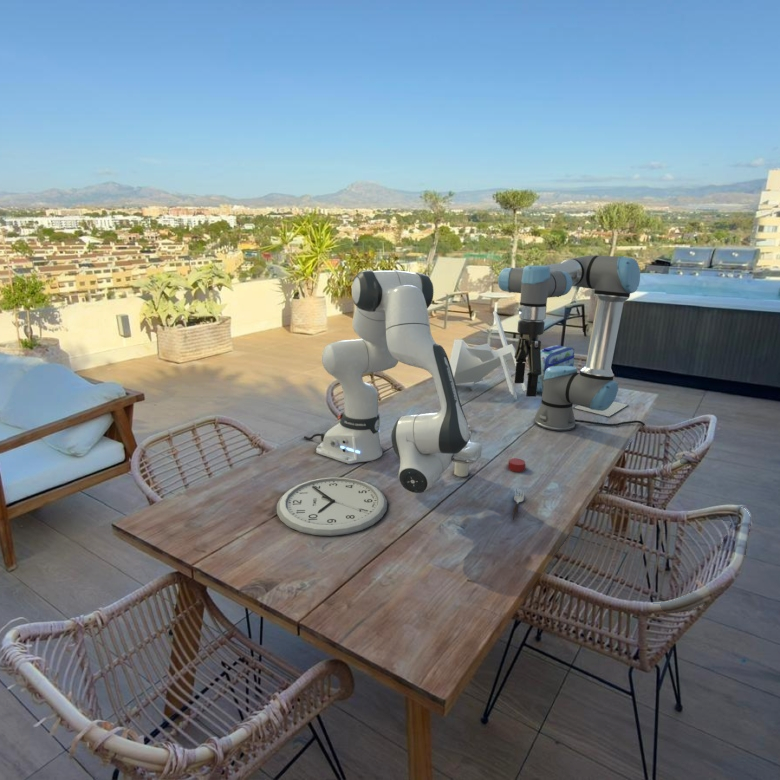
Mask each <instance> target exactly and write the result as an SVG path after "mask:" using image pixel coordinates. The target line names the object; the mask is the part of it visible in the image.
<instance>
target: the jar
mask: <svg viewBox="0 0 780 780" xmlns="http://www.w3.org/2000/svg"><path fill="white" fill-rule="evenodd" d="M468 427H469V433H470V441H471V439H472V432H471V431H470V429H471V425H470V424H468ZM471 442H472V441H471ZM469 466H470V464H463V463H458V462H454V467H453V475H455V476H456V477H459V478H463V477H464V478H465V477H467V476H468V475H469V470H470V469H469V468H470V467H469Z"/></svg>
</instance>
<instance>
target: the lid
mask: <svg viewBox="0 0 780 780" xmlns="http://www.w3.org/2000/svg"><path fill="white" fill-rule="evenodd" d="M507 468H508V470H510V471H511V472H514V473H522V472H524V471H525V469H526V461H525V460H524V459H521V458H516V457H514V458H510V459H508V465H507Z"/></svg>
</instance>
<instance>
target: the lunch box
mask: <svg viewBox="0 0 780 780" xmlns="http://www.w3.org/2000/svg"><path fill="white" fill-rule="evenodd" d="M540 351H541V372H542V373H541V375H539V376H538V383H537V392H536V393H540V394H542V391H543V381H544V380H543V378H544V374H545V371H546V369H547V368H550V367H554V366H572V367H574V363H575V348H573V347H571V346H570V347H568V346H563V345H551V346H548V347H544V348H543V349H540ZM535 371H536V370H535Z"/></svg>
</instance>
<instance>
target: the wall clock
mask: <svg viewBox="0 0 780 780" xmlns="http://www.w3.org/2000/svg"><path fill="white" fill-rule="evenodd" d="M387 509H388V500H387V498H386V496H385V494H384V493H383V492H382V491H381V490H380V489H379V488H377V487H376V486H374V485H372V484H371V483H369V482H365V481H362V480H359V479H355V478H349V477H338V476H337V477H335V476H333V477H332V476H331V477H322V478H317V479H312V480H307V481H305V482H302V483H299V484H297V485H295V486H293V487H292V488H290V489H288V490H287V491H286V492H285V493H284V494H283V495H281V496H280V498H279V499H278V502H277V503H276V515H277V517H278V518H279V520H280V521H281V522H282V523H283V524H285V525H286V526H287V527H288V528H290V529H293V530H295V531H297V532H299V533H303V534H308V535H312V536H327V537H328V536H329V537H331V536H332V537H333V536H342V535H350V534H352V533H356V532H361V531H363V530H366V529H368V528H369V527H372V526H373V525H375V524H376V523H378V522H379V521H380V520H381V519H382V518H383V517H384V516H385V514H386V512H387Z"/></svg>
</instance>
